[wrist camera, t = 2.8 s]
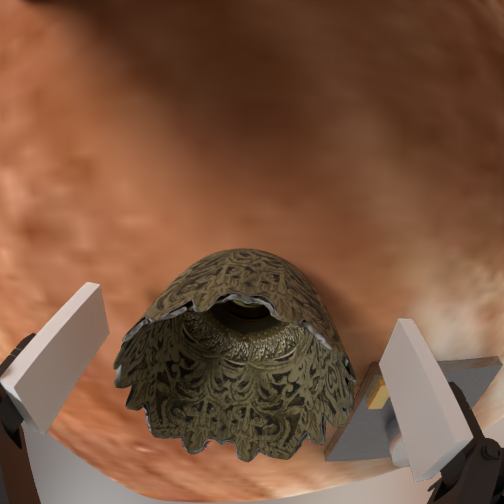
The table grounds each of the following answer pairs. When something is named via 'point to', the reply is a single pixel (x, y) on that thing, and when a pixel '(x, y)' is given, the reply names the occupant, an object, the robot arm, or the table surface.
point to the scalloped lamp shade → (238, 358)
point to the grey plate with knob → (384, 418)
